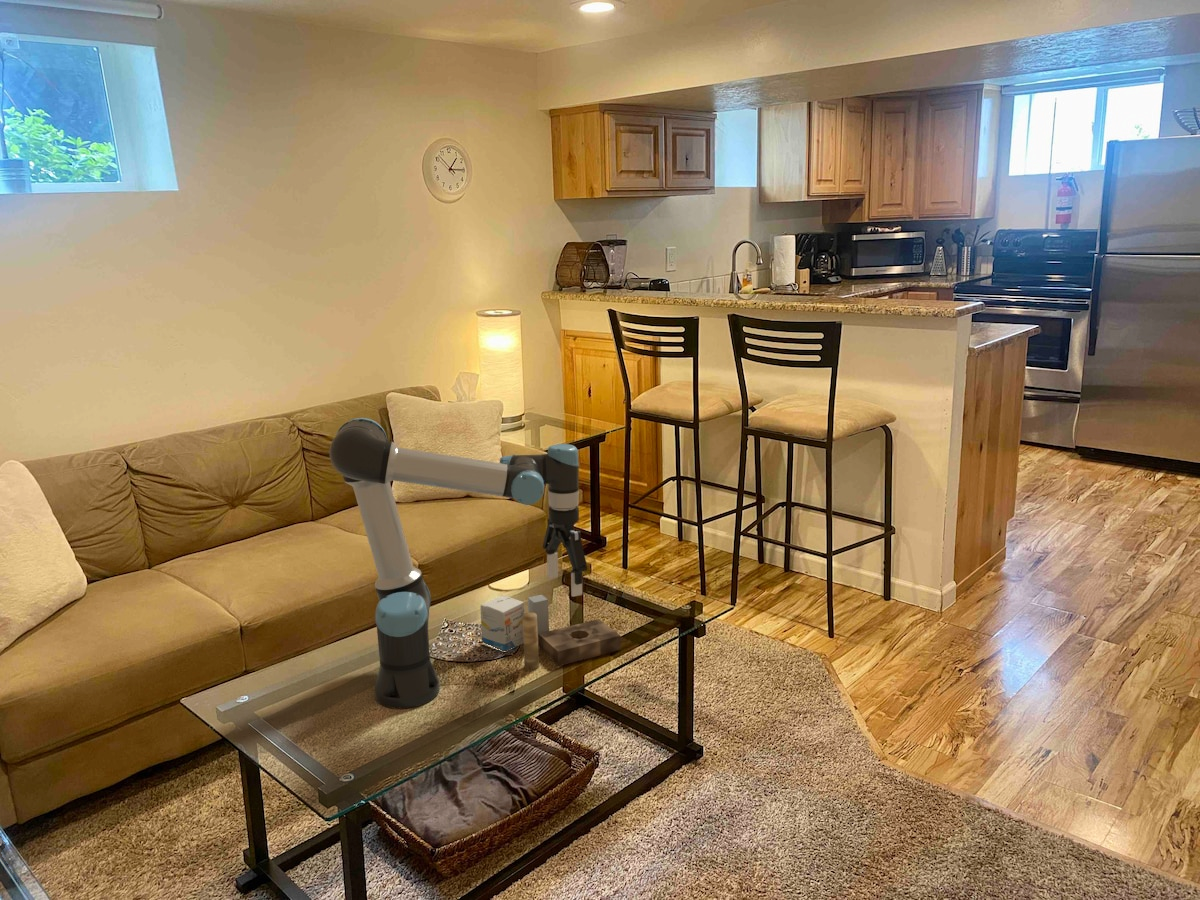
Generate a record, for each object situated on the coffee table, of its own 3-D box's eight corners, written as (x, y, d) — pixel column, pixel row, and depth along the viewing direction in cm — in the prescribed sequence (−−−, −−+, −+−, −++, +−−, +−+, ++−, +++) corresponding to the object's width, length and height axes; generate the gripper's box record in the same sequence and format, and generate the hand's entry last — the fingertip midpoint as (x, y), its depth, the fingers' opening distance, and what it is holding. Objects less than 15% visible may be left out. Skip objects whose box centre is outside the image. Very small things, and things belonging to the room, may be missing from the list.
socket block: (558, 666, 223) (557, 651, 222) (538, 647, 234) (538, 633, 233) (620, 649, 231) (620, 635, 230) (599, 632, 242) (598, 618, 241)
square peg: (535, 644, 235) (534, 602, 233) (529, 639, 239) (527, 597, 236) (549, 641, 237) (547, 599, 234) (543, 635, 241) (541, 594, 238)
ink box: (504, 653, 231) (502, 612, 228) (481, 645, 236) (479, 604, 233) (526, 641, 237) (525, 601, 235) (503, 633, 242) (501, 593, 240)
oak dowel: (528, 671, 221) (525, 619, 217) (522, 665, 224) (520, 614, 221) (541, 668, 222) (539, 616, 219) (535, 662, 225) (533, 611, 222)
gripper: (601, 517, 212) (601, 600, 217) (555, 492, 234) (556, 568, 238) (573, 522, 209) (573, 606, 214) (529, 496, 230) (530, 573, 235)
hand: (564, 586), depth 226 cm, fingers open, 13 cm apart
